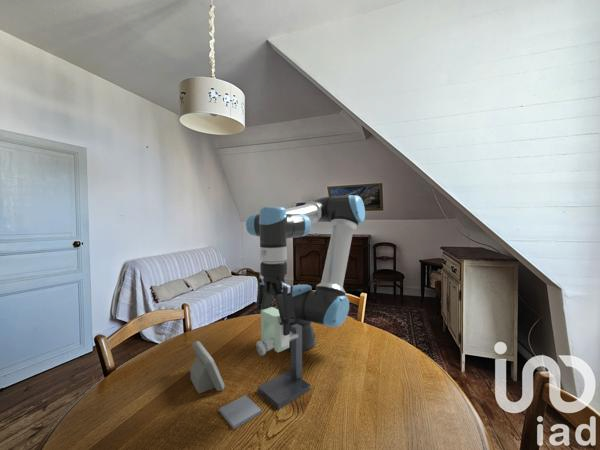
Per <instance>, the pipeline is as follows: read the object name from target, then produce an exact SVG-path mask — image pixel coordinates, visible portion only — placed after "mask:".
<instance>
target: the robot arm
mask: <svg viewBox="0 0 600 450" xmlns="http://www.w3.org/2000/svg"><path fill="white" fill-rule="evenodd" d="M365 218H366V208H365V204H364V201H363V199H362V197H360V196H359V195H358V194H357V195H355V194H354V195H351V194H349V195H339V196H338V195H336V196H335V195H334V196H324V197H320V198H316V199H314V200H311V201H310V200H309V201H307V202H305V203H304V204H303V205H298V206H294V207H289V208H286V207H284V206H267V207H266V206H264V207H261V208H260V210H259V213H256V214H251V215H249V216H248V217H247V219H246V223H245V227H246V231H247V232H248V234H250V235H251V236H254V237H255V236H256V237H259V249H260V250H259V251H260V252H259V255H260V264H259V265H260V267H259V268H260V276H261V277H259V278H257V279H256V280H257V281H256V282H257V291H256V293H257V295H256V305H255V306H256V307H255V308H256V310H257V311H259V314H261V310H263V309H267V308H270V306H271V302H272V299H273V300H275V302H276V306H277V309H278V310H279V314H280V318H281V323H279V324H280V347H281V348H282V347H284V346H287V345H289V348H287V349H285V350H287V351H290V352H291V342H289V334H290V331H291V326H292V325H295V324H299V325H301V326H302V352H303V351H308V350H310V349H312V348H314V347H315V346H316V343H317V336H316V334H315V330H314V327H313V324H312V323H314V324H318V325H322V326H325V327H330V328H338V327H340V326H342V325H343V323H345V321H346V319H347V316H348V315H349V310H350V299H349V298H348V297H347V295H346V292H347V291H345V289H344V281H345V276H346V272H347V266H348V262H349V255H350V250H351V245H352V244H351V243H352V239H353V234H354V231H356V230H357V229H358V227H359V224H361V223H364V221H365V220H366V219H365ZM321 222H322V223H330V225H331V227H332V231H331V234H330V239H329V244H328V247H327V252H326V253H327V254H326V256H325V257H326V258H325V262H324V268H323V272H322V278H321V280H320V283H318V284H316V287H315V290H312V289H313V288H312V286H311V285H309V284H295V285H293V284H287V283H286V280H285V277H286V275H287V274H288V263H287V262H286V261H287V260H288V252H287V251H288V250H287V248H288V247H287V239H295V238H301V237H305V236H307V235H308V234H309V233H310V232H311V230H312V229H311V228H312V224H314V223H321Z"/></svg>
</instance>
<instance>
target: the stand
mask: <svg viewBox="0 0 600 450" xmlns="http://www.w3.org/2000/svg"><path fill="white" fill-rule="evenodd" d="M289 342H291V351H290V361H291V362H290V370H287V371H285V372H283V373H281V374H279V375H277V376H275V377H273V378H271V379H269V380H268V381H265V382H264V383H262V384H260V385H258V386H257V392H258V393H259V395H261V396H262V397H263V398H264V399H266V400H267V401H268V402H269V403H270V404H271V405H272V406H273V407H274V408H276V409H277V410H280V409H282V408H283V407H285V406H286V405H288V404H290V403H291V402H294V401H295V400H296V399H297V398H300V397H301V396H302V395H305V394H306V393H307V392H309V391H311V384H310V383H309V382H307V381H305V380H304V379H303V351H302V326H301V325H299V324H295V325H292V326H291V331H290V334H289ZM255 347H256V351H257V353H258V355H259V356H260V357H261V356H262V357H263V356H264V355H266V354H267V352H269V351H272V350H273V349H274V350H275V338H274V337H273V338H271V339H268V340H266V341H262V340H258V341H257V342H256V345H255Z"/></svg>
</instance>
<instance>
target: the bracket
mask: <svg viewBox="0 0 600 450" xmlns="http://www.w3.org/2000/svg"><path fill="white" fill-rule="evenodd" d="M279 323H281V318H280V314H279V310H278V308H276V307H273V306H271V307H269V308H267V309H263V310H261V313H260V331H261V332H260V334H261V336H260V337H261V338H260V339H261V340H262V341H266V340H268V339H271V338H273V337H274V338H275V348H274V352H276V353H280V352H283V351H285V350H286V349H287V348H289V345H287V346H284V347H282V348H281V347H280V324H279Z"/></svg>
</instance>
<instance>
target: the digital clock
mask: <svg viewBox="0 0 600 450" xmlns="http://www.w3.org/2000/svg"><path fill="white" fill-rule="evenodd" d="M191 348H192V349H193V351H194V353H195V355H194V356H195V357H196V358H195V360H194V362H193V363H192V364H191V365H190V369H189V371H190V375H189V376H190V381H191V382H192V385H193V386H194V388H195V390H196V392H197V393H198V394H202V393H204V392H207V391H210V390H212V389H215V390H216V391H217V392H221V391H223V390H224V388H225V383H224V379H223V377H222V375H221V373H220V372H219V369H218V367H217V364H216V362H215V360H214V358H213V357H212V356H211V355H210V353H209V352H208V351H207V349H206V348H205V346H204V345H203V344H202V343H201V342H200V340H197V341H193V343H192V347H191Z"/></svg>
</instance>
